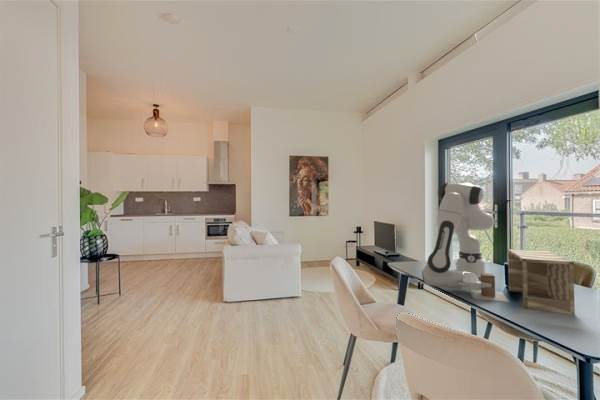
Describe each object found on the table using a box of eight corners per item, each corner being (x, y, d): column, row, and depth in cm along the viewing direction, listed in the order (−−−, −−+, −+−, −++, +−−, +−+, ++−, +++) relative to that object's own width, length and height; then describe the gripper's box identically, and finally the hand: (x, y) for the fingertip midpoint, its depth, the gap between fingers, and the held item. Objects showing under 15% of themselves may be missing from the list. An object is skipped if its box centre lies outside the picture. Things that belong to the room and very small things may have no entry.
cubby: (509, 290, 142) (507, 249, 142) (549, 294, 135) (548, 251, 135) (524, 308, 118) (523, 258, 118) (574, 314, 111) (573, 261, 111)
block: (481, 292, 138) (480, 272, 138) (493, 294, 136) (492, 273, 136) (482, 295, 134) (482, 275, 134) (495, 297, 132) (494, 276, 132)
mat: (469, 289, 144) (469, 289, 144) (502, 293, 138) (502, 292, 138) (473, 298, 132) (473, 297, 132) (509, 302, 126) (509, 301, 126)
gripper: (458, 278, 131) (493, 281, 125) (455, 268, 150) (485, 271, 144) (458, 291, 131) (493, 295, 125) (455, 280, 150) (485, 283, 144)
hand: (489, 282), depth 135 cm, fingers open, 8 cm apart
